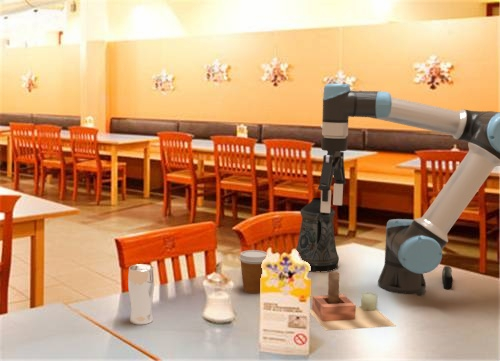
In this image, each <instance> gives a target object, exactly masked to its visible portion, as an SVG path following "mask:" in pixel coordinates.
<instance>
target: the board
mask: <svg viewBox="0 0 500 361" xmlns="http://www.w3.org/2000/svg"><path fill="white" fill-rule="evenodd" d="M311 304H312V305H311V306H312V307H311V308H309V309H310V312H309V313H310V314H311V316H312V317H313V318H314V319H315V320H316V321H317V322H318V323H319V325H320V326H321V327H322V328H323V329H324V331H338V330H340V331H341V330H342V331H343V330H355V329H369V328H370V329H371V328H386V327H396V326H397V325H396V324H395V323H394V322H393V321H391V320H390V319H389V318H387V317H386V316H385V315H384V314H383V313H382V312H381V311H380V310H379V309H376V310H375V311H366V310H363V309H361V305H360V306H357V304H355V303H354V302H353V301H352V300H351V299H349V298H348V297H347V296H346V295H345V294H339V304H328V294H327V295H326V294H325V295H312V300H311Z"/></svg>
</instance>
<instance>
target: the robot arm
mask: <svg viewBox="0 0 500 361" xmlns="http://www.w3.org/2000/svg"><path fill="white" fill-rule="evenodd" d="M322 96H323V98H322V120H321V121H322V124H321V125H320V128H321V135H322V136H323V137H322V138H321V146H320V147H321V150H322V151H327V154H324V155H323V157H322V158H323V160H322V168H321V173H320V179H319V183H318V184H319V185H318V190H319V191H320V198H321V210H320V212H323V213H330V207H331V208H332V205H331V201H332V204H333V206H343V193H344V192H343V191H344V184H345V185H346V184H347V180H346V173H345V172H346V171H345V161H344V154H345V153H344V152H345V151H347V150H348V138H347V137H348V136H349V118H350V117H351V118H354V117H355V118H371V119H374V120H375V119H376V120H380V121H384V122H389V123H394V124H398V125H404V126H408V127H412V128H416V129H423V130H426V131H431V132H436V133H442V134H446V135H449V136H452V137H453V139H454V140H458V141H461V142H465V143H468V144H467V146H468V152H467V154H465V156H464V158H463V159H462V160H461V162H460V163H459V165H458V166H457V167H456V169H455V170H454V171H453V173H452V174H451V176H450V177H449V179H448V180H447V181H446V183H445V184H444V186H443V187H442V189H441V190H440V191H439V192H438V194H437V195H436V197H435V198H434V200H433V202H432V203H431V205H429V207H428V209H427V210H426V211H425V212H424V214H423V215H422V216H421V217H417V218H414V219H409V218H408V219H407V218H403V219H402V218H396V219H395V218H393V219H389V220H388V221H387V222H386V228H385V245H384V246H385V248H384V250H385V251H384V266H383V268H382V270H381V271H380V272H381V273H380V275H379V278H378V280H377V286H378V287H379V288H380V289H382V290H384V291H387V292H391V293H393V294H401V295H402V294H403V295H404V294H405V295H417V296H421V295H425V293H426V291H427V288H426V287H427V283H426V279H425V276H424V274H427V273H430V272H432V271H434V270H436V268H437V267H439V265H440V264H441V262H442V259H443V250H444V248H445V247H446V245H447V244H448V242H449V238H448V233H449V232H450V230H451V228H452V227H453V226H454V225H455V224H456V223H457V222H456V221H457V220H458V219H459V217H460V216H461V215H462V214H463V212H464V210H465V209H466V208H467V207H468V206H469V203H470V202H471V201H472V200H473V198H474V197H475V195H476V194H477V192H478V191H479V190H480V188H481V187H483V186H482V185H484V183H485V182H486V180H487V179H488V177H489V176H490V174H491V173H492V171H493V170H494V169H495V168H497V167H499V166H500V111H493V110H490V111H489V110H488V111H486V110H485V111H483V110H482V111H480V110H478V111H477V110H469V109H463V108H461V109H460V110H459V111H458V110H453V109H449V108H444V107H440V106H434V105H429V104H425V103H420V102H417V101H416V102H415V101H411V100H406V99H402V98H396V97H392V95H391V93H390V92H388V91H381V90H377V91H375V90H373V91H372V90H369V91H367V90H366V91H365V90H357V91H356V90H351V86H350V84H348V83H326V84H325V85H324V87H323V95H322ZM333 179H334V184H333V193H332V190H331V186H332V182H333ZM332 194H333V198H332Z"/></svg>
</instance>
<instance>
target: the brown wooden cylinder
mask: <svg viewBox="0 0 500 361" xmlns="http://www.w3.org/2000/svg"><path fill="white" fill-rule="evenodd" d="M327 272H328V278H327V280H328V281H327V284H328V286H327V295H328V304H339V295H340V272H339V271H335V270H332V271H327Z"/></svg>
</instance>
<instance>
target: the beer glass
mask: <svg viewBox="0 0 500 361" xmlns="http://www.w3.org/2000/svg"><path fill="white" fill-rule="evenodd" d="M154 270H155V269H154V266H153V265H151V264H144V263H142V264H138V263H137V264H133V265H131V266H129V267H128V276H127V279H128V280H127V283H128V284H127V285H128V286H127V287H128V295H129V300H130V305H131V311H130V312H131V313H130V318H129V322H130V323H131V324H133V325H141V326H143V325H149V324H151V323H152V322H153V320H154V319H153V318H154V317H153V315H152V314H153V313H152V302H153V298H154V291H155V273H154V272H155V271H154Z"/></svg>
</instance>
